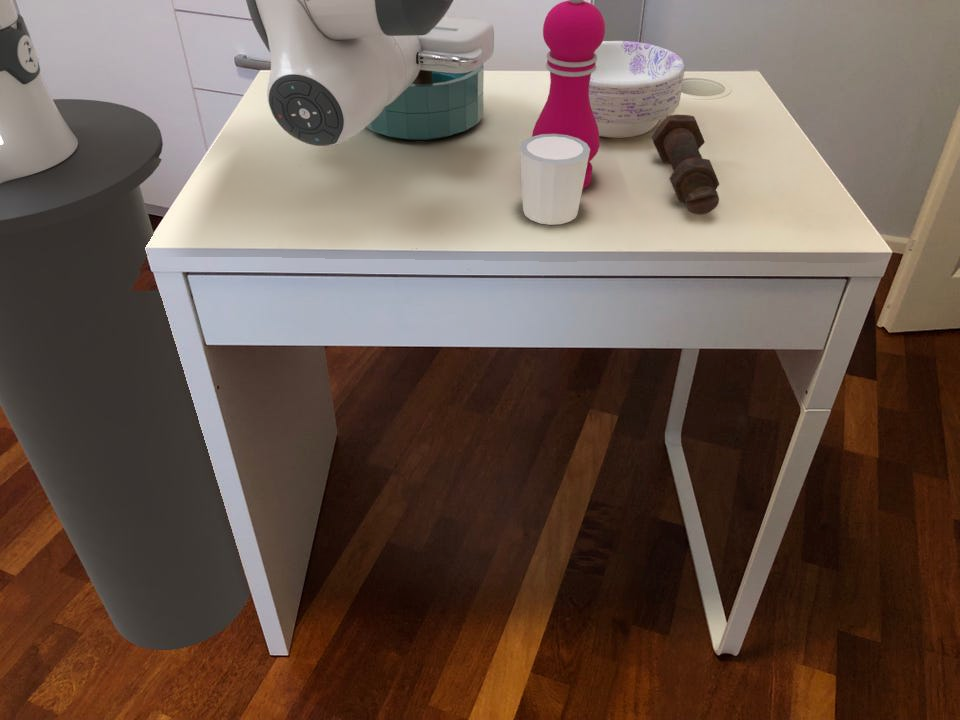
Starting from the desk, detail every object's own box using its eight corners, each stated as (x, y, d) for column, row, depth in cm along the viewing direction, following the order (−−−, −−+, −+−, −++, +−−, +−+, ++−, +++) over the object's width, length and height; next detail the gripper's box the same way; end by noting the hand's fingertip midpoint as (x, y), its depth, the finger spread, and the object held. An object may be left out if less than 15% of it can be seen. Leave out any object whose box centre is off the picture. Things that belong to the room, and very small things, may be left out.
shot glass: (507, 201, 83) (509, 137, 79) (567, 191, 85) (572, 128, 81) (532, 232, 78) (535, 166, 74) (595, 221, 80) (602, 156, 76)
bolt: (689, 235, 81) (664, 165, 93) (737, 214, 80) (706, 146, 91) (668, 191, 78) (645, 124, 89) (718, 168, 76) (688, 103, 88)
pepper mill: (592, 165, 90) (611, -26, 77) (598, 195, 84) (620, -5, 72) (528, 164, 90) (537, -27, 77) (530, 194, 84) (540, -6, 72)
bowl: (352, 145, 94) (346, 87, 89) (364, 95, 106) (359, 41, 101) (484, 144, 94) (485, 86, 90) (481, 95, 106) (481, 41, 102)
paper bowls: (526, 122, 99) (529, 58, 94) (604, 91, 107) (610, 30, 102) (623, 161, 91) (632, 93, 86) (699, 124, 99) (711, 60, 94)
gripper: (473, 33, 76) (511, -5, 87) (282, 13, 81) (340, -20, 91) (473, 97, 80) (510, 53, 91) (291, 75, 85) (346, 36, 95)
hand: (423, 16), depth 91 cm, fingers closed on muddler, 2 cm apart
